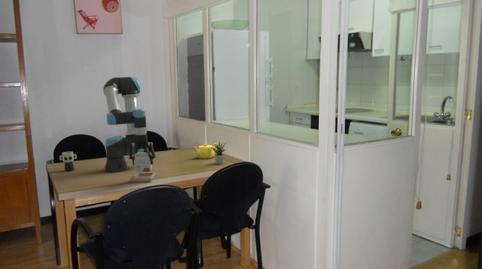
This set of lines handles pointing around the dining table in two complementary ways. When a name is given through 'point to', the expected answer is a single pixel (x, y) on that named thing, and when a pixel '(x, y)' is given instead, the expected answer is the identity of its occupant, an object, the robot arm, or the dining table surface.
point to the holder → (143, 177)
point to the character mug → (68, 160)
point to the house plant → (219, 153)
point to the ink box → (142, 162)
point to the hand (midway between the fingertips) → (143, 169)
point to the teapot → (205, 151)
